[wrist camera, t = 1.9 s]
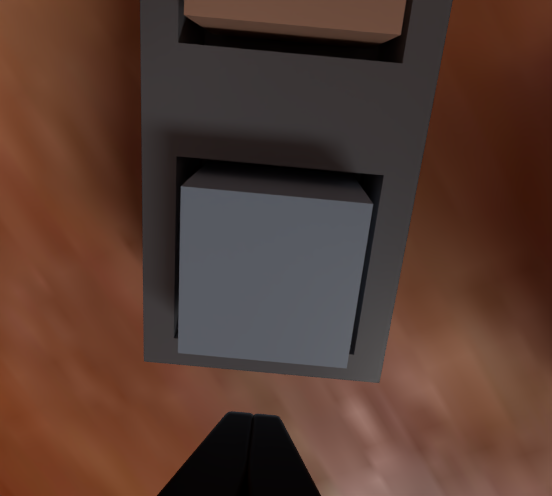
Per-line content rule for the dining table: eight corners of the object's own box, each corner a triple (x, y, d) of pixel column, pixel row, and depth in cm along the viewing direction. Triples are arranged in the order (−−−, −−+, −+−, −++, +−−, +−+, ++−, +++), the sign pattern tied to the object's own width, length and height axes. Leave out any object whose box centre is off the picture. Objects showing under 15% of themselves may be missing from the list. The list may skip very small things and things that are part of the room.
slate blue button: (352, 174, 16) (373, 203, 12) (333, 304, 18) (346, 368, 14) (208, 161, 16) (180, 186, 12) (203, 292, 18) (177, 353, 14)
